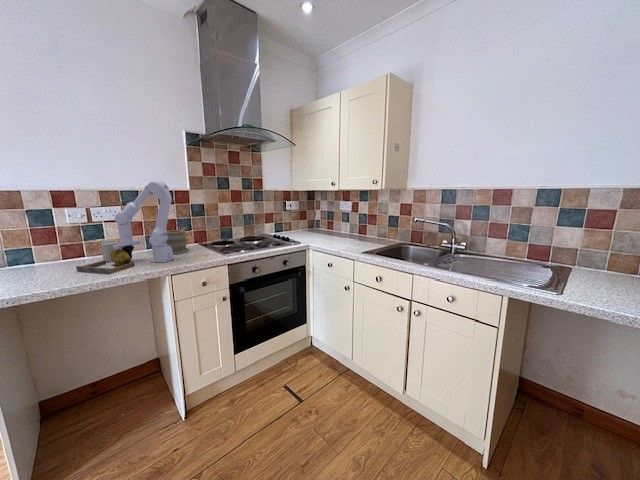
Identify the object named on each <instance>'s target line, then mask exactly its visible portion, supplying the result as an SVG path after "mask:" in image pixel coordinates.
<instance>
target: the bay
mask: <svg viewBox="0 0 640 480" xmlns="http://www.w3.org/2000/svg"><path fill="white" fill-rule="evenodd" d="M106 264H107V262H106V261H104V260H100V261H97V262H92V263H88V264H85V265H78V266H75V269H76V272H77V273H78V272H79V273H91V274H92V273H93V274H103V275H104V274H105V275H112V274H115V273H118V272H120V270H121V271H123V270H127V269H130V267H131V268H133V267H135V266H136V265H135V262H130V263H129V264H125V265H122V266H119V265H118V266H115V267H112V268H111V267H109V268H108V267H100V266H106ZM117 271H118V272H117ZM114 272H115V273H114Z"/></svg>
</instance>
